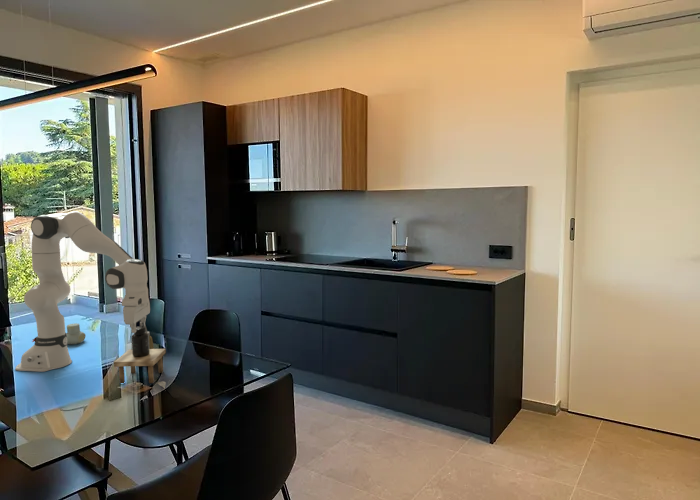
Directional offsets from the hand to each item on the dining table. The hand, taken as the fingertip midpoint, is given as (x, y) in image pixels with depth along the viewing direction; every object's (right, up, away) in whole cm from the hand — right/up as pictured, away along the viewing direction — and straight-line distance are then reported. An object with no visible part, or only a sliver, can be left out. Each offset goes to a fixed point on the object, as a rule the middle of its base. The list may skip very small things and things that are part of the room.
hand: (138, 329), depth 212 cm
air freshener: (-56, -16, +52) cm, 78 cm away
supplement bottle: (0, -12, +2) cm, 12 cm away
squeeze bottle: (-6, -19, +21) cm, 29 cm away
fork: (+16, -24, -11) cm, 30 cm away
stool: (0, -21, +3) cm, 21 cm away
